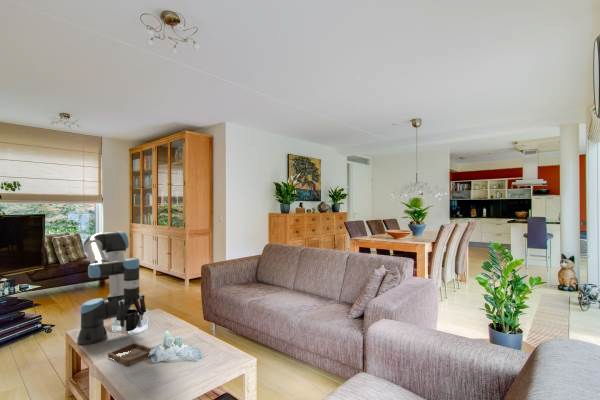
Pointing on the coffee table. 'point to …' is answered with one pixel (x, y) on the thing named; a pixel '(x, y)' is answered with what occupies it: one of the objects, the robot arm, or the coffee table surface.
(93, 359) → the coffee table surface
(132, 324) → the mug
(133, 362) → the tray
